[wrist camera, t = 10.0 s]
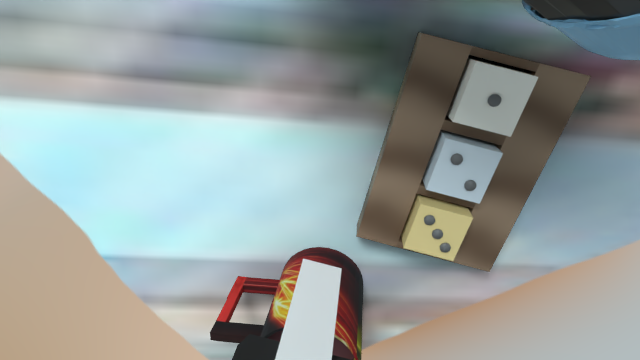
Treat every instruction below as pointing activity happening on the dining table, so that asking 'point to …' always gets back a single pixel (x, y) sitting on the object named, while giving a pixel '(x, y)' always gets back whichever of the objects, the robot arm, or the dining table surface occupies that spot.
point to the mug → (283, 289)
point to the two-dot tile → (461, 166)
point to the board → (430, 117)
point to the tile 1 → (435, 227)
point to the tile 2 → (490, 97)
